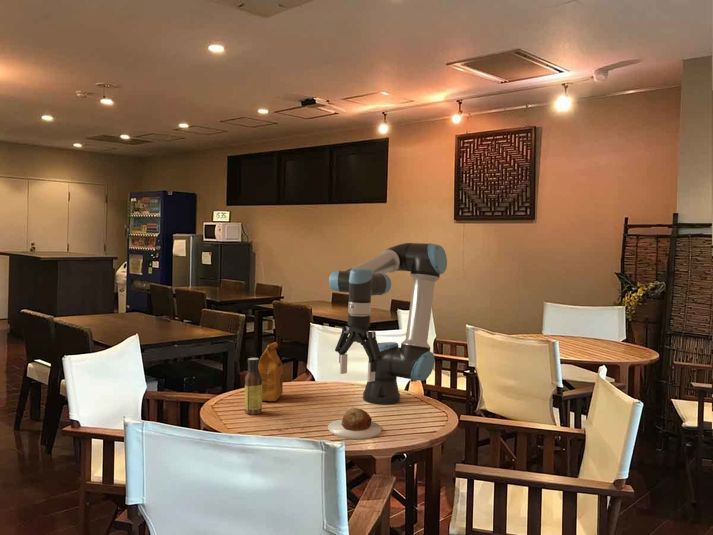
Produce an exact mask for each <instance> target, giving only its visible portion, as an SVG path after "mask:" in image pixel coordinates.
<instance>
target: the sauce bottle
mask: <svg viewBox="0 0 713 535" xmlns="http://www.w3.org/2000/svg"><path fill="white" fill-rule="evenodd" d="M259 360H260V358H258V357H250V358H247V364H248V365H247V373H246V374H245V376H244V409H245V410H244V413H245V414H248V415H259V414H261V413H262V412H263V410H262V409H263V401H262V380H261V376H260V373H259V369H258V363H259Z"/></svg>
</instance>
